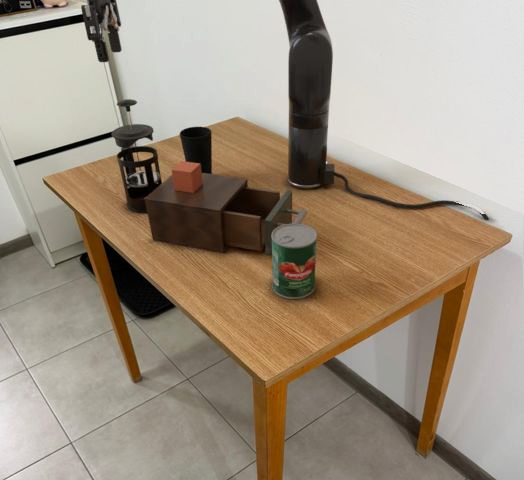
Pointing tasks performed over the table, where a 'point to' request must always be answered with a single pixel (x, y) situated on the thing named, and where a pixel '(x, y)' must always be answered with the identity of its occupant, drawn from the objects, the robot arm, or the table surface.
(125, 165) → the french press
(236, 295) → the table surface
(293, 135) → the robot arm
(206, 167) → the cup
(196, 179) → the block
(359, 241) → the table surface
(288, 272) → the canned tomato
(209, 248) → the cabinet
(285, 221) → the drawer
